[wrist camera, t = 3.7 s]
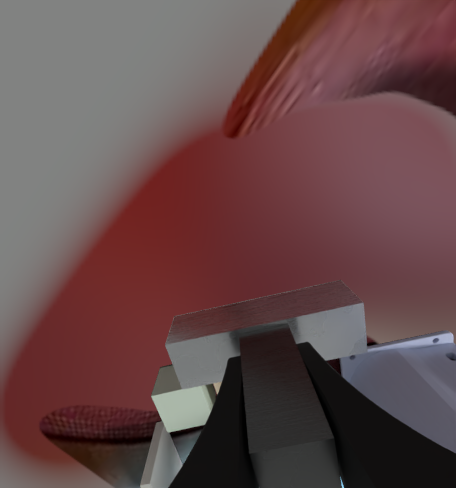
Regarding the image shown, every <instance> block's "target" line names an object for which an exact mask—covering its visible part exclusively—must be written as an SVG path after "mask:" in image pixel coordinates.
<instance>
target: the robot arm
mask: <svg viewBox="0 0 456 488" xmlns="http://www.w3.org/2000/svg"><path fill="white" fill-rule="evenodd" d="M433 339H434V340H433ZM296 345H297V347H298V350H299V352H300V355H301V357H302V360H303V362H304V364H305V367H306V369H307V372H308V374H309V377H310V379H311V382H312V384H313V387H314V389H315V392H316V394H317V397H318V399H319V402H320V404H321V407H322V409H323V412H324V414H325V417H326V419H327V422H328V424H329V427H330V429H331V432H332V434H333V437H334V440H335V447H336V453H337V460H338V467H339V473H340V477H341V480H342V482H343V485H344V488H456V344H454V343H453V334H452V333H450V332H449V331H440V332H435V333H431V334H426V335H421V336H416V337H411V338H406V339H401V340H397V341H392V342H387V343H382V344H377V345H372V346H367V351H368V352H366V353H361V354H356V355H353V356H351V357H350V356H347V357H342V358H339V359H340V367H341V375H342V376H341V375H340V374H339V373H338V372H337V371H336V370H335V369H334V368H333V367H332V366H331V365H330V364H329V363H328V362H327V361H326V360H325V359H324V358H323V357H322V356H321V355H320V354H319V353H318V352H317V351H316V350H315V348H314V347H313V346H312V345H311V344H310V343H309V342H303V343H299V344H296ZM168 488H259V484H258V481H257V478H256V474H255V471H254V468H253V464H252V461H251V458H250V455H249V445H248V434H247V423H246V411H245V400H244V389H243V377H242V366H241V355H240V356H236V357H231V358H229V359H228V361H227V366H226V370H225V373H224V377H223V380H222V383H221V386H220V389H219V392H218V395H217V397H216V400H215V403H214V405H213V407H212V410H211V412H210V415H209V417H208V419H207V421H206V424H205V426H204V428H203V430H202V432H201V434H200V436H199V438H198V440H197V442H196V443H195V445H194V447H193V449H192V450H191V452H190V454H189V456H188V457H187V459H186V461H185V463H184V464H183V466H182V467H181V469H180V470H179V472H178V473H177V475H176V476H175V478H174V479H173V481H172V482H171V484H170V486H169V487H168Z"/></svg>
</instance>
